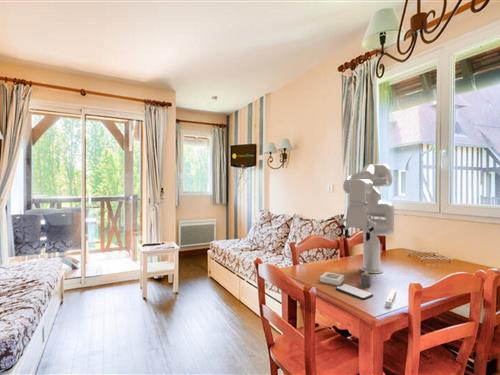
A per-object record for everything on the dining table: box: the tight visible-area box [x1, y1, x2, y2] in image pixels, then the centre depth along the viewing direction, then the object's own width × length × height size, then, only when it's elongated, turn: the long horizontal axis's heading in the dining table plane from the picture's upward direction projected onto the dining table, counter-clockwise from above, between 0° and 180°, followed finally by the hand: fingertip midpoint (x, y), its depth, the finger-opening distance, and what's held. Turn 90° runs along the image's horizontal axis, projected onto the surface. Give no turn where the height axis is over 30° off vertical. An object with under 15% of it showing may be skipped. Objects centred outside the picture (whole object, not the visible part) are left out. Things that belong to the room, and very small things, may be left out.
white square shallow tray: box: [319, 271, 345, 287], centre depth 149 cm, size 10×10×3 cm
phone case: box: [335, 283, 374, 301], centre depth 134 cm, size 9×2×16 cm
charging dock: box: [385, 289, 397, 308], centre depth 125 cm, size 16×2×3 cm, turn 145°
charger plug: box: [360, 271, 372, 289], centre depth 143 cm, size 4×4×7 cm
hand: (357, 239), depth 135 cm, fingers open, 9 cm apart
